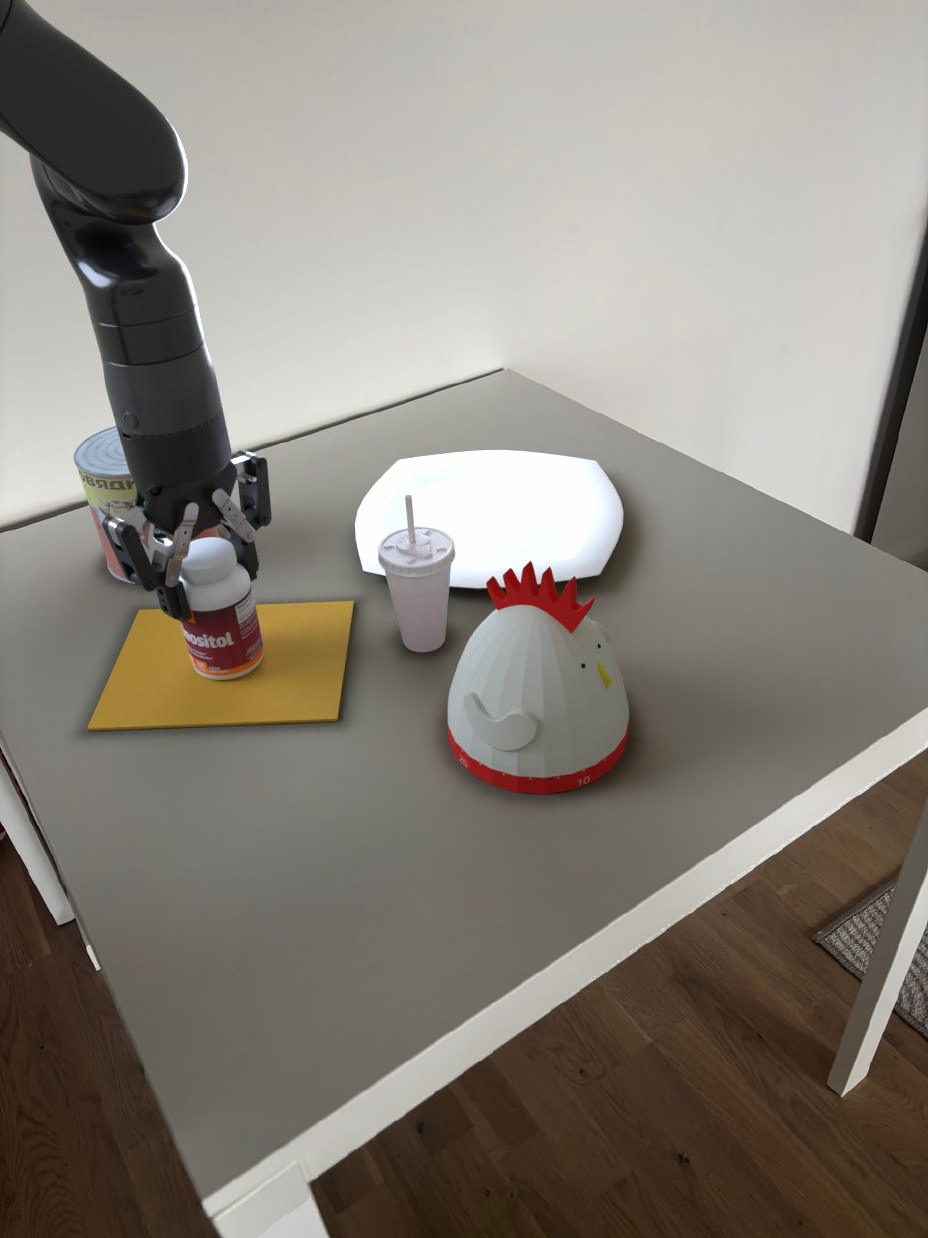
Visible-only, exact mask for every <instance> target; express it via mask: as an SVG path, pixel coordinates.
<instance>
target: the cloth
mask: <svg viewBox="0 0 928 1238" xmlns="http://www.w3.org/2000/svg"><path fill="white" fill-rule="evenodd" d="M255 605H256V610H257V615H258V620H259V625H260V630H261V634H262V639H263V644H264V655H263V658H262V660H261V662H260V663H259V665H258V666H257V667H256V668H255V669H254V670H252V671H251V672H250V673H248V674H246V675H244V676H241V677H238V678H234V679H229V680H213V679H208V678H206V677H203V676H201V675H200V674H198V673H197V672H196V670H195V669H194V667H193V665H192V662H191V659H190V655H189V651H188V647H187V643H186V639H185V636H184V632H183V628H182V624H181V622H180V621H179V620H177V619H176V620H175V619H174V618H172V617H170V616H168V615H167V614H165V613H164V612H163V611H162V610H161V608H148V609H138V611H137V613H136V616H135V618H134V620H133V622H132V625H131V627H130V630H129V632H128V634H127V637H126V639H125V640H124V643H123V645H122V648H121V650H120V652H119V655H118V657H117V659H116V661H115V664H114V666H113V668H112V671H111V673H110V675H109V678H108V680H107V681H106V684H105V687H104V688H103V691H102V693H101V696H100V698H99V700H98V702H97V705H96V707H95V709H94V712H93V714H92V715H91V719H90V720H89V722H88V725H87V728H86V729H87V731H88V732H97V731H98V732H100V731H123V730H124V731H126V730H147V729H148V730H149V729H151V730H153V729H176V728H199V727H201V728H202V727H230V726H250V725H251V726H252V725H254V726H255V725H277V724H280V725H281V724H298V723H299V724H303V723H326V722H327V723H328V722H338V720H339V714H340V708H341V700H342V693H343V687H344V679H345V672H346V664H347V657H348V650H349V643H350V636H351V628H352V621H353V614H354V608H355V601H354V600H340V601H339V600H337V601H315V602H291V603H271V604H270V603H268V604H266V603H265V604H264V603H263V604H255Z"/></svg>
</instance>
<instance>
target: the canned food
mask: <svg viewBox="0 0 928 1238" xmlns="http://www.w3.org/2000/svg"><path fill="white" fill-rule="evenodd" d="M72 459H73V462H74V464H75V467H76V468H77V471H78V475H79V478H80V480H81V483H82V487H83V490H84V494H85V496H86V499H87V503H88V506H89V508H90V512H91V515H92V518H93V522H94V524H95V528H96V531H97V534H98V536H99V537H98V538H99V541H100V544H101V547H102V550H103V553H104V556H105V559H106V565H107V568H108V571H109V573H110V574H111V575H112V576H113V577H115V578H116V579H118V580H119V581H122V582H125V583H127V584H128V583H129V584H132V585H136V584H135V583H132V582H130V581H129V580H127V579H126V577H125V575H124V573H123V571H122V568H121V566H120V564H119V562H118V560H117V557H116V555H115V553H114V551H113V549H112V547H111V544H110V542H109V540H108V538H107V536H106V533H105V531H104V529H103V527H102V522H103V519H104V518H105V517H106V516H108V515H113V516H115V517H117V518H118V517H120V516H121V515H123V514H124V513H126V512H128V511H129V510H131V509H132V508H134V507H135V499H136V486H135V483H134V481H133V479H132V477H131V475H130V472H129V469H128V466H127V462H126V459H125V455H124V451H123V448H122V444H121V441H120V437H119V434H118V430H117V427H116V425H114V426H111V427H107V428H105V429H103V430H100V431H98V432H95V433H94V434H92V435H90V436H89V437H88V438H86V439H85V440H83V441H82V442H81V443H80V444H79V445H78V446H77V447H76V449H75V450H74V453H73V455H72ZM150 524H151V523H150V522H148V521H147V520H146V521H145V523H144V525H143V533H144V534H143V535H145V539H144V540H143V541H141V542H142V545H143V547H144V549H145V552H146V554H147V556H148V558H149V555H150V547H149V546H148V536H149V530H150ZM166 535H167V538H168V540H170V541H172V542H173V538H174V537H173V536H171V535H169V534H167V533H166ZM209 537H217V538H221V537H220V535H219V530H218V525H217V526H215V527H214V528H210V529H205V530H204V531H203V532H201V533H200V534H199V535H198V536H197V537H195V538H193V539H191V541H190V542H192V541H194V540H197V539H202V538H209Z"/></svg>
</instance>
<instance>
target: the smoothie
mask: <svg viewBox="0 0 928 1238" xmlns="http://www.w3.org/2000/svg"><path fill="white" fill-rule="evenodd" d="M405 503H406V514H407V525H408V528H403V529H400V530H397V531H394V532H392V533H390V534H389V535H387V536H386V537H385V538H383V539H382V541H381V542H380V543H379V546H378V561H379V564H380V565H381V566H382V568H383V569H384V570H385V574H386V577H385V578H386V581H387V585H388V589H389V593H390V597H391V601H392V605H393V608H394V612H395V616H396V619H397V623H398V628H399V631H400V634H401V639H402V643H403V645H404V646H405V648H407V649H408V650H410V651H411V652H416V653H428V652H433V651H436V650H437V649H439V648H441V647H442V646H443V645H444V644H445V641H446V633H447V631H446V630H447V619H448V608H449V595H450V587H449V585H450V574H451V564H452V562H453V561H454V559H455V554H456V552H455V548H454V541H453V539H452V537H451V536H450V535H449V534H447V533H446V532H444V531H442V530H439V529H436V528H432V527H425V526H416V527H414V515H413V504H412V496H411V495H406V496H405Z"/></svg>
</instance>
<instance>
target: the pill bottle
mask: <svg viewBox="0 0 928 1238" xmlns="http://www.w3.org/2000/svg"><path fill="white" fill-rule="evenodd" d="M179 580H180V581H182V582H183V585H184V589H185V593H186V597H187V601H188V604H189V608H190V612H191V616H192V618H191V619H189V620H188V621H186V622H184V623H182V622H181V624H182V628H183V632H184V636H185V639H186V643H187V647H188V651H189V655H190V659H191V662H192V665H193V667H194V669H195V670H196V672H197V673H198V674H200V675H201V676H203V677H206V678H208V679H213V680H229V679H234V678H238V677H241V676H244V675H246V674H248V673H250V672H251V671H252V670H254V669H255V668H256V667H257V666H258V665H259V663H260V662H261V660H262V658H263V655H264V644H263V639H262V634H261V630H260V625H259V620H258V615H257V610H256V605H257V604H256V600H255V595H254V592H253V587H252V586H253V585H252V582H251V581H250V577H249V574H248V572H247V570H246V569H245V568H244V567H243V566H242V565H240V564H239V563H237V557H236V553H235V550H234V547H233V545H232V543H231V542H229V541H228V540H227V539H226V538H222V537H220V538H217V537H209V538H202V539H197V540H194V541H192V542H190V547H189V552H188V556H187V557H186V558H184V559H183V561H182V566H181V571H180V577H179Z"/></svg>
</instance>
